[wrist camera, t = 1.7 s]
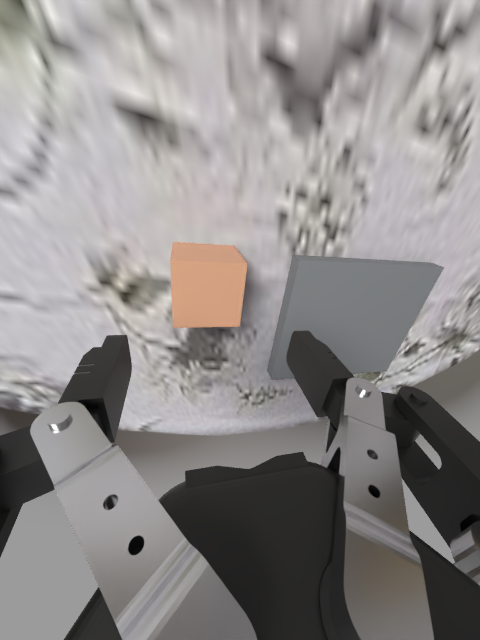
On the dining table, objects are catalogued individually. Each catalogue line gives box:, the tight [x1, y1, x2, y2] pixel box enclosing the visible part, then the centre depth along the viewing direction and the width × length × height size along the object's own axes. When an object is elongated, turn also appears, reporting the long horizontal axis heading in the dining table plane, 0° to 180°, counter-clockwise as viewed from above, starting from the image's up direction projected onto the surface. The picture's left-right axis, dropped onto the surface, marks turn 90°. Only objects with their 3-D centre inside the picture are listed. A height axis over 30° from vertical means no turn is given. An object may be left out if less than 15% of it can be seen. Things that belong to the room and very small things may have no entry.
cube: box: [170, 242, 248, 328], centre depth 19 cm, size 5×5×5 cm
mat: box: [267, 255, 444, 380], centre depth 26 cm, size 16×14×2 cm
